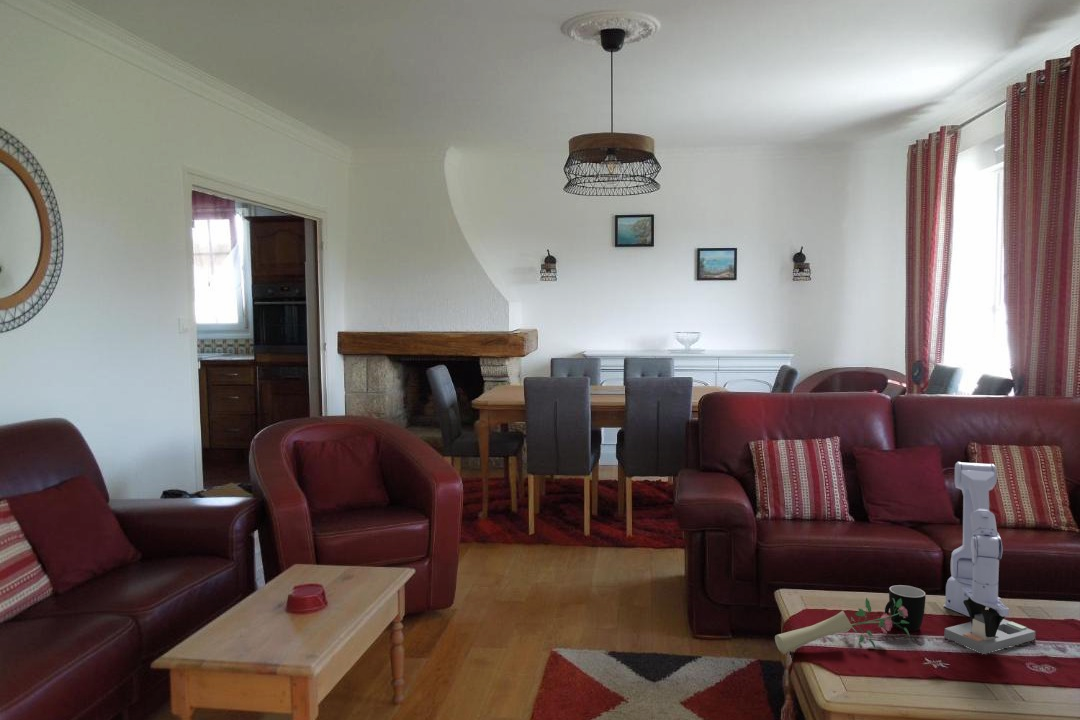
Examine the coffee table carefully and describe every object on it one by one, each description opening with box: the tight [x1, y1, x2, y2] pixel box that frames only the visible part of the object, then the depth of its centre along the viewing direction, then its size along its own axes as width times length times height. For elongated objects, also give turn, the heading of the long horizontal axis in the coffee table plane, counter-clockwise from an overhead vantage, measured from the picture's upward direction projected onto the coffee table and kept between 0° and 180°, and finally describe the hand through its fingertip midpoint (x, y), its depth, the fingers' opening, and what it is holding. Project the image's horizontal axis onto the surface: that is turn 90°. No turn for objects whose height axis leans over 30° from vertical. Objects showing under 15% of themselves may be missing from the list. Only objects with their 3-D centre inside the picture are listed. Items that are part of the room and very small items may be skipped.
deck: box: [943, 618, 1036, 655], centre depth 195 cm, size 11×20×3 cm, turn 113°
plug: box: [972, 613, 995, 641], centre depth 191 cm, size 4×4×6 cm
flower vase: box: [774, 597, 910, 655], centre depth 190 cm, size 12×12×35 cm
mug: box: [884, 584, 926, 632], centre depth 202 cm, size 12×9×10 cm
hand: (983, 632), depth 192 cm, fingers closed on plug, 4 cm apart
